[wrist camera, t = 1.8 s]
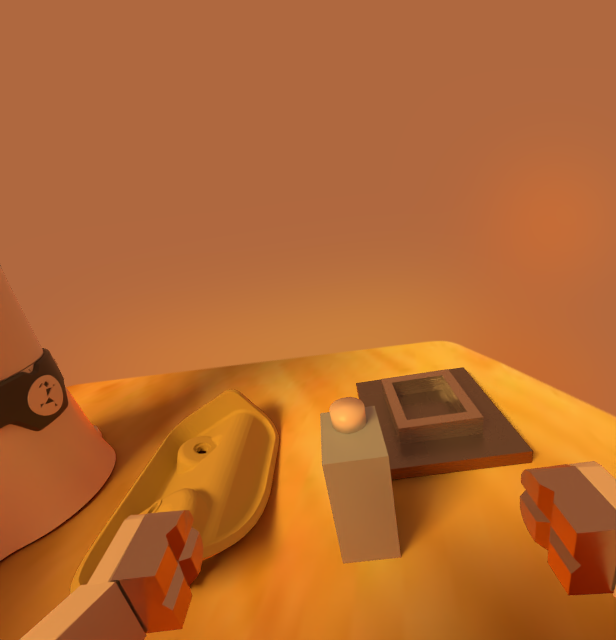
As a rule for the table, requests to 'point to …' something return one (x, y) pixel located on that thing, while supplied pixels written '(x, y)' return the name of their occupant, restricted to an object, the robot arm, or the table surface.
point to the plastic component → (203, 477)
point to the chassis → (441, 424)
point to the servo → (359, 482)
